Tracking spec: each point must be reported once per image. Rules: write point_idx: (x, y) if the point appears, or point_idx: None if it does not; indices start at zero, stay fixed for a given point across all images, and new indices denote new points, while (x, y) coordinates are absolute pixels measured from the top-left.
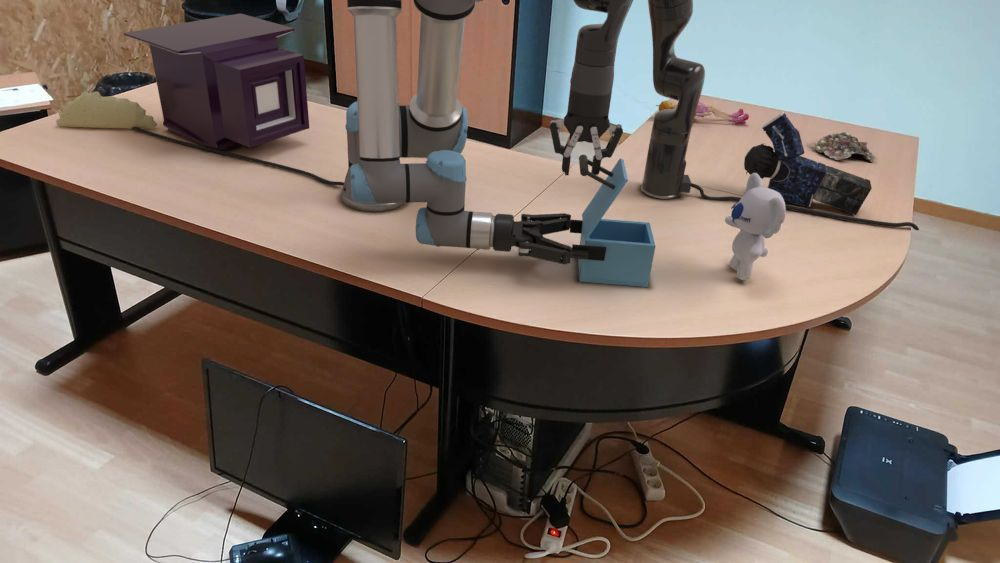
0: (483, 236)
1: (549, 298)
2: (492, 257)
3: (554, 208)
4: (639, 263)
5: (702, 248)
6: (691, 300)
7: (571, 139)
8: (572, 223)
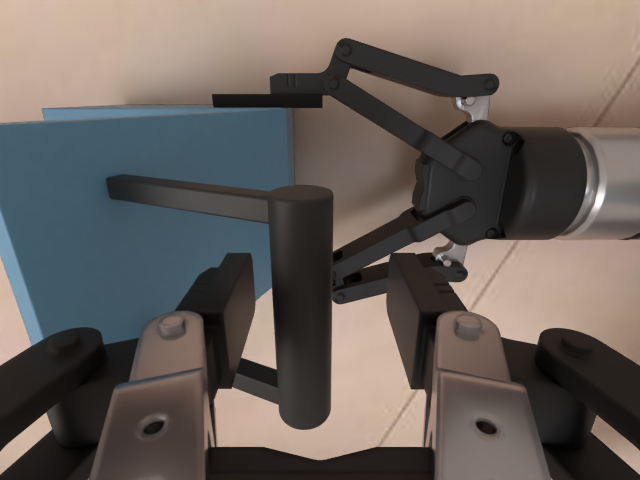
0: (602, 129)
1: (371, 3)
2: None
3: (343, 410)
4: (121, 106)
5: None
6: (9, 56)
7: (533, 450)
8: None
